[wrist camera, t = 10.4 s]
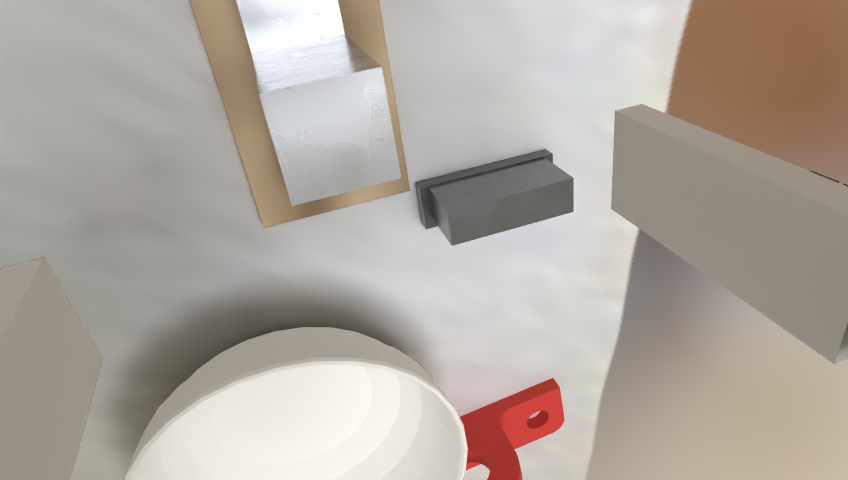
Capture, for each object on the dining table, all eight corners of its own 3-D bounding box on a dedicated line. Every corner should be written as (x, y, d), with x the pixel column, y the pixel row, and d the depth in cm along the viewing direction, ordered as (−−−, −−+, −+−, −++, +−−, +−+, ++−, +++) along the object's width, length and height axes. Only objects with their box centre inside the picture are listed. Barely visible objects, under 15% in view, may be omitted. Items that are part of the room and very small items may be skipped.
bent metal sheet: (290, 186, 29) (312, 276, 21) (228, -28, 24) (228, -10, 16) (366, 167, 29) (413, 247, 22) (322, -45, 24) (363, -35, 17)
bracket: (417, 476, 43) (452, 576, 37) (403, 439, 41) (437, 538, 34) (558, 416, 45) (615, 501, 38) (552, 377, 42) (612, 459, 36)
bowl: (467, 298, 36) (515, 371, 30) (387, 497, 43) (413, 590, 37) (158, 259, 29) (139, 345, 23) (121, 506, 36) (98, 623, 30)
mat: (263, 223, 30) (264, 228, 29) (166, -78, 23) (164, -78, 22) (407, 186, 31) (410, 190, 31) (358, -107, 24) (360, -107, 24)
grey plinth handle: (421, 223, 33) (443, 256, 29) (358, -180, 23) (380, -199, 20) (547, 189, 34) (581, 217, 31) (536, -203, 25) (585, -224, 21)
